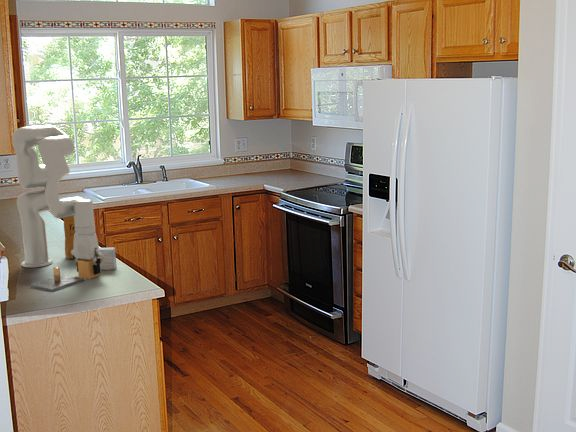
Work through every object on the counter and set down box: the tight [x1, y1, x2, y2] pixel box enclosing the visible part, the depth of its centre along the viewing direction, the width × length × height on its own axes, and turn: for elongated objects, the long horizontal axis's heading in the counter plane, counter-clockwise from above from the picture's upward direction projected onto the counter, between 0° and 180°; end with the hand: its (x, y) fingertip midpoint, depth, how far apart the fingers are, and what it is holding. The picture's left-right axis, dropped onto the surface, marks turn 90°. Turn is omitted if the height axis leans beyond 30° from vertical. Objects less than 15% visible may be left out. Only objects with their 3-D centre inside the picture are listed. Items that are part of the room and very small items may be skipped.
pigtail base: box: [29, 266, 85, 292], centre depth 271 cm, size 12×16×6 cm
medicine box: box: [99, 246, 117, 271], centre depth 291 cm, size 8×4×9 cm, turn 92°
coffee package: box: [62, 216, 76, 259], centre depth 310 cm, size 10×12×22 cm
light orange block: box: [76, 259, 100, 280], centre depth 280 cm, size 6×6×7 cm
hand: (88, 272), depth 281 cm, fingers open, 8 cm apart
